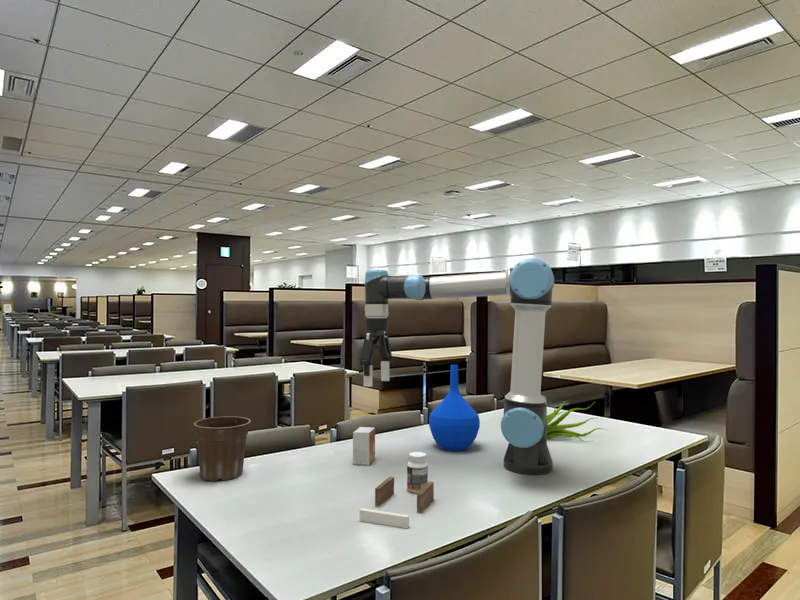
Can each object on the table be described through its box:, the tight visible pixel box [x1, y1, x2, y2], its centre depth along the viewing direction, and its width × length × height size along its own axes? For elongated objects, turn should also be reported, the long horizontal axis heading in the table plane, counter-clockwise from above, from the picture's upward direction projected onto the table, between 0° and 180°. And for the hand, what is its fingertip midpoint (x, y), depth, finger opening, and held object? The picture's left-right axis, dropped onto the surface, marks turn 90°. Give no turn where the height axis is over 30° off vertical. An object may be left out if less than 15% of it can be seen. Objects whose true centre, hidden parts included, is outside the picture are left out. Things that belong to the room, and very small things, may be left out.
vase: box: [428, 364, 481, 452], centre depth 187 cm, size 18×18×30 cm
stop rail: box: [359, 507, 410, 529], centre depth 120 cm, size 12×1×2 cm, turn 69°
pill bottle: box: [406, 451, 429, 494], centre depth 142 cm, size 6×6×10 cm
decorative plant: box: [547, 399, 607, 443], centre depth 202 cm, size 18×30×15 cm, turn 73°
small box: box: [352, 426, 376, 466], centre depth 169 cm, size 8×6×10 cm
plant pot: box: [193, 415, 252, 482], centre depth 155 cm, size 16×16×16 cm
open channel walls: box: [374, 476, 435, 514], centre depth 133 cm, size 12×10×4 cm
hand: (376, 383), depth 166 cm, fingers open, 13 cm apart
